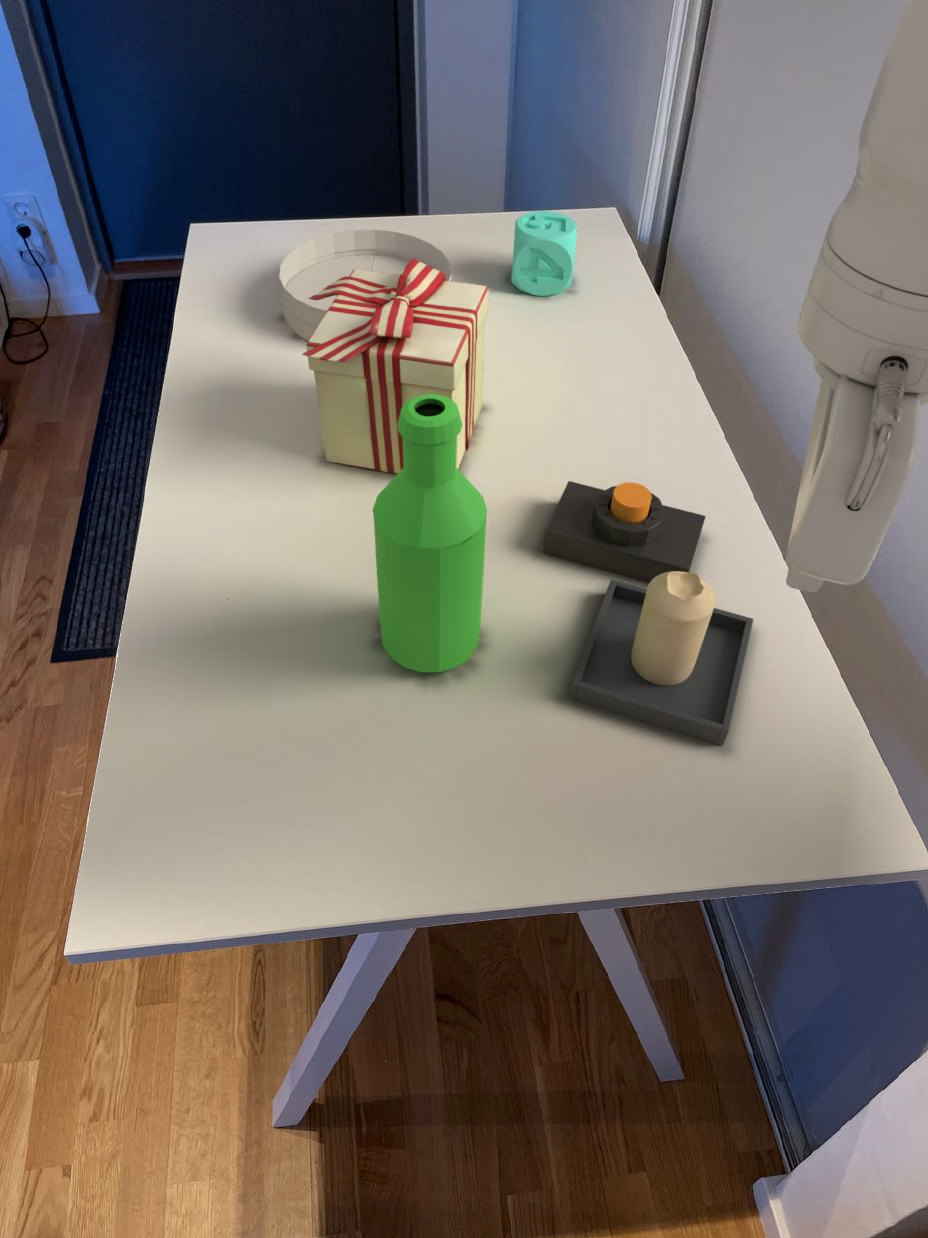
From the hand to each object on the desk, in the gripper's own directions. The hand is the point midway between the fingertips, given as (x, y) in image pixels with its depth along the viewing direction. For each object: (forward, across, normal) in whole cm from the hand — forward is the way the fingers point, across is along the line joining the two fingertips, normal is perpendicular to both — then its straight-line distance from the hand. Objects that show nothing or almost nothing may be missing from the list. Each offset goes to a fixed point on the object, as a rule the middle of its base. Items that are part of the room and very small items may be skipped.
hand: (811, 527), depth 53 cm
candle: (+27, +10, +6) cm, 29 cm away
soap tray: (+27, +10, +6) cm, 29 cm away
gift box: (+27, +31, +41) cm, 58 cm away
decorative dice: (+27, +70, +36) cm, 83 cm away
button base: (+27, +24, +13) cm, 38 cm away
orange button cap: (+23, +24, +13) cm, 35 cm away
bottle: (+27, +5, +26) cm, 38 cm away
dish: (+27, +55, +55) cm, 82 cm away
